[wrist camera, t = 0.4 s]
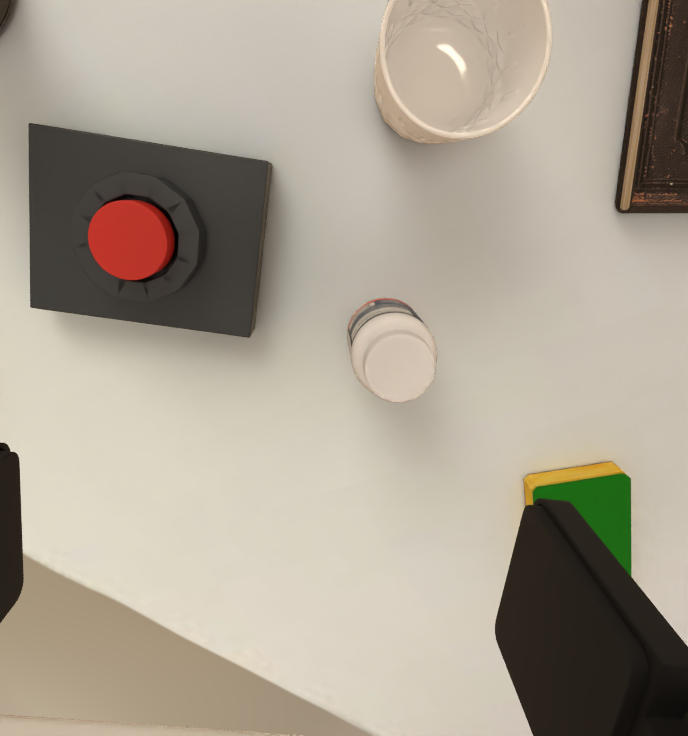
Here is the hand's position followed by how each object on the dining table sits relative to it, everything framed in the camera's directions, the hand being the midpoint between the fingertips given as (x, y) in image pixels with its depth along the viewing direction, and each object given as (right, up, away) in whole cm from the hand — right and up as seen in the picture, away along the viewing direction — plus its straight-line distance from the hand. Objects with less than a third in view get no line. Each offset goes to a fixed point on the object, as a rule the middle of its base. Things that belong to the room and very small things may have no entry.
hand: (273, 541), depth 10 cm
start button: (-11, +11, +23) cm, 28 cm away
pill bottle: (+4, +6, +29) cm, 30 cm away
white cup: (+6, +21, +25) cm, 33 cm away
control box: (-11, +12, +27) cm, 31 cm away
